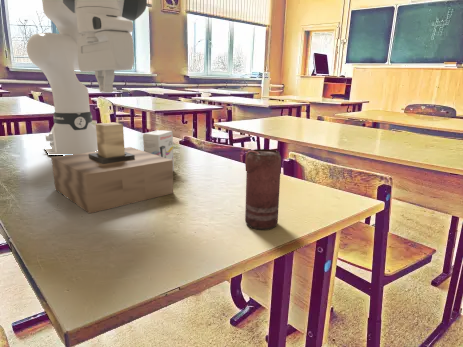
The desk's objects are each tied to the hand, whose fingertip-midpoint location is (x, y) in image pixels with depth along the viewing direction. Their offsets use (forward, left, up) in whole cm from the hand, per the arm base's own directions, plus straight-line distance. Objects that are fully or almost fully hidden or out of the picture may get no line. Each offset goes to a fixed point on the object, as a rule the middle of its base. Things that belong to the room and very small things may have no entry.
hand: (106, 92), depth 80 cm
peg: (0, 0, -16) cm, 16 cm away
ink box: (-7, +17, -23) cm, 30 cm away
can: (+36, +12, -23) cm, 45 cm away
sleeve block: (0, 0, -23) cm, 23 cm away
